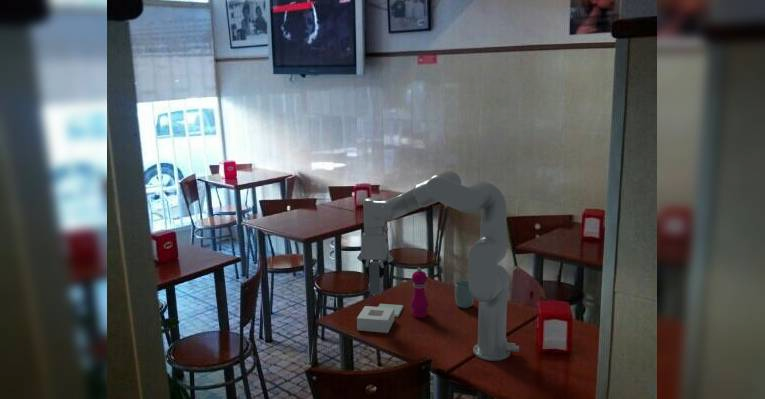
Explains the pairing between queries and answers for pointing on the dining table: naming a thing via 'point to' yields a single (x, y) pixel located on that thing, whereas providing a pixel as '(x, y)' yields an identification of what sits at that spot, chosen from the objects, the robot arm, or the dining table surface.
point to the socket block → (375, 319)
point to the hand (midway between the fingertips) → (375, 276)
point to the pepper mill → (419, 294)
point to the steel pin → (375, 278)
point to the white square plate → (396, 308)
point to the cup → (463, 294)
